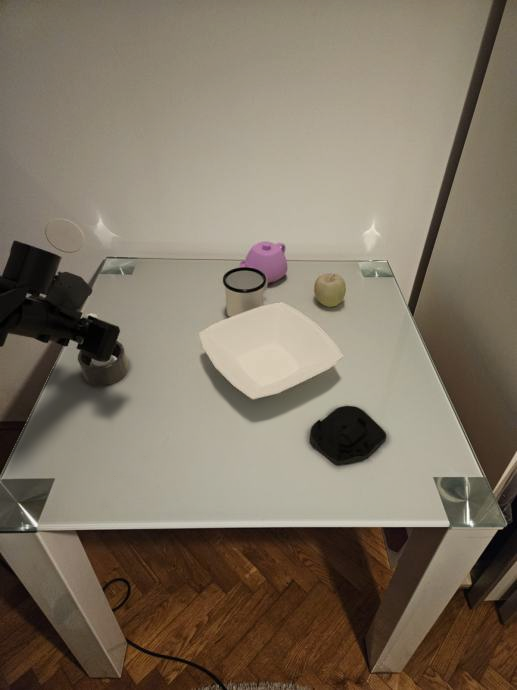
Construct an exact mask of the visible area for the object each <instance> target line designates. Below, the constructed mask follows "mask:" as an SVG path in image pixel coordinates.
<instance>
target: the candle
mask: <svg viewBox="0 0 517 690" xmlns="http://www.w3.org/2000/svg"><path fill="white" fill-rule="evenodd" d="M89 315H90V316H92V317H95V318H97V319H99V317H98V315H97V314H96V313H87V314H85V315H82V316H81V318H86V319H87V318H88V316H89ZM116 359H117V358H116V357H115V356H113V355H111V357H110V360H109V361H107V362H100V361H96V360H94V359H92V361H91V363H90V365H89V366H91V367H101V366H106V365H108V364H111V363H112V362H114V361H115V360H116Z"/></svg>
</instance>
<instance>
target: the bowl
mask: <svg viewBox="0 0 517 690" xmlns="http://www.w3.org/2000/svg"><path fill="white" fill-rule="evenodd" d="M198 338H199V341H200V343H201V346H202V348H203V350H204V353H205V354H206V356H207V357H208V358H209V360H210V362H211V363H212V365H213V366H214V368H215V369H216V370H217V371H218V373H220V375H222V376H223V377H224V378H225V379H226V380H227V382H229V384H231V385H232V386H233V387H234V388H236V389H237V390H238V391H240V392H241V393H242V394H244V395H245V396H246V397H248V398H249V399H250V400H257V399H258V400H259V399H262V398H266V397H270V396H274V395H278V394H280V393H282V392H285V391H287V390H289V389H291V388H294V387H295V386H298V385H299V384H302V383H304V382H306V381H308V380H310V379H312V378H314V377H316V376H318V375H320V374H322V373H324V372H326V371H329V370H331V368H332V367H334V366H335V365H337V363H338V362H340V360H342V359H343V358H344V354H343V353H342V351H341V350H340V349H339V347H338V346H337V344H336V342H335V341H334V340H333V339H332V338H331V337H330V335H328V334H327V333H326V331H324V330H323V329H322V328H321V327H320V326H319V325H318V324H317V323H316V322H315V321H313V320H312V319H311V318H309V317H308V316H307V315H305V314H304V313H302V312H301V311H300V310H298V309H296V308H294V307H293V306H290V305H288V304H287V303H285V302H283V301H280V302H273V303H269V304H263V306H260V307H257V308H254V309H252V310H249V311H246V312H243V313H240V314H238V315H235V316H233V317H228V318H225V319H222V320H220V321H216V322H215V323H213V324H211V325H210V326H208V327H207V328H205V329H203V330H201V331H200V332H198Z"/></svg>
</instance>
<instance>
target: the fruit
mask: <svg viewBox="0 0 517 690" xmlns="http://www.w3.org/2000/svg"><path fill="white" fill-rule="evenodd" d="M313 288H314V289H313V291H314V295H315V297H316V300H317V301H318V302H319V303H320V304H321V305H322V306H325V307H329V308H332V307H337V306H338V305H339V304H340V303H342V302H343V300H344V299H345V296H346V292H347V291H346V290H347V287H346V282H345V280H344V278H343V277H342V276H341V275H339V274H337V273H323V274H321V275H319V276H318V277H317V278H316V280H315V281H314V285H313Z"/></svg>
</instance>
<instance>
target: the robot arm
mask: <svg viewBox="0 0 517 690" xmlns="http://www.w3.org/2000/svg"><path fill="white" fill-rule="evenodd" d="M62 258H63V257H62V256H60V255H58V254H56V253H53V252H51V251H49V250H45V249H42V248H39V247H36V246H34V245H32V244H31V245H30V244H27V243H25V242H21V241H19V240H13V242H12V244H11V246H10V249H9V256H8V259H7V261H6V264H5V266H4V269H3V272H2V274H0V348H2V347H4V346H5V343H6V340H7V338H8V335H14V336H19V337H26V338H31V339H34V340H36V341H39V342H41V343H44V344H49V342H53V343H56V344H57V345H60V346H62V347H68V346H69V344H70V341H72V342H75V343H77V346H76V348H75V349H76V350H79V351H80V350H81V352H82V354H83V355H85V356H87V357H90V358H92V359H94V360H96V361H100V362H107V361H109V360H110V357H111V355H112V352H113V349H114V346H115V344H116V341H118V338H119V336H120V333H121V328H120V326H119V325H116V324H113V323H112V322H111V323H110V322H108V321H106V320H102V319H100V318H98V319H97V318H95V317H92V316H90V315H89V316H88V318H87V319H86V318H82V317H83V312H81V311H79V310H80V309H81V307H82V306H83V305H84V303H85V302H86V301H87V299H88V298H89V297H90V296H91V295H92V293H93V288H92V287H91V286H90V285H89V283H88V282H87V281H86V280H85V279H84V278H83V277H82V276H80V275H78V274H74V273H72V272H69V271H63V272H62V271H58V269H59V266H60V264H61V261H62ZM41 294H42V295H41ZM28 295H29V296H28ZM43 295H44V296H43Z"/></svg>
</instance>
